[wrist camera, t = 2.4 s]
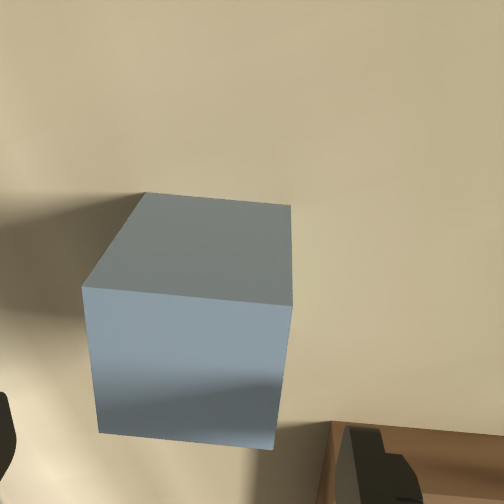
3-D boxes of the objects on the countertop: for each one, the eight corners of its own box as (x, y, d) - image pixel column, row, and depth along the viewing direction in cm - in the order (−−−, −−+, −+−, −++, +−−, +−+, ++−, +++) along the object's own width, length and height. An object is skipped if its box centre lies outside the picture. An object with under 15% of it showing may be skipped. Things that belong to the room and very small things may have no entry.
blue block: (146, 191, 17) (80, 286, 11) (290, 204, 16) (292, 306, 11) (150, 309, 19) (98, 432, 14) (276, 321, 19) (273, 450, 14)
